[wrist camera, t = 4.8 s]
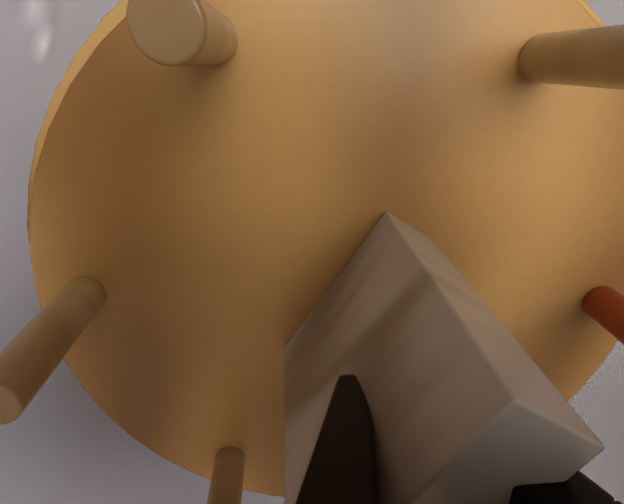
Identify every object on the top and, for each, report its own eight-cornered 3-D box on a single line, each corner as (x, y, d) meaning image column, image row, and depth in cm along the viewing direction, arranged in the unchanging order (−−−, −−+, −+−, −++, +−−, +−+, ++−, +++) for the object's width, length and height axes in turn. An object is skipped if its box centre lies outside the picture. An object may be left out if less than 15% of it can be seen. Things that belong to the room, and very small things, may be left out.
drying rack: (95, 490, 15) (-49, 819, 9) (-45, -107, 8) (-1429, -820, 2) (547, 480, 16) (722, 759, 10) (760, -40, 9) (1843, -270, 3)
